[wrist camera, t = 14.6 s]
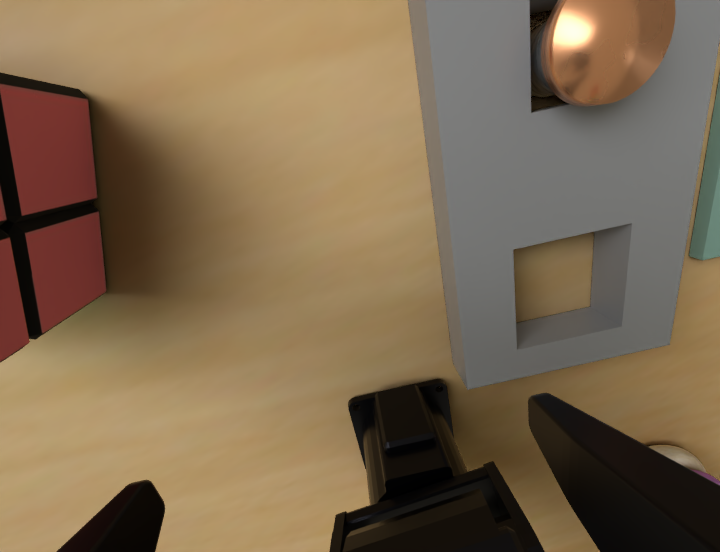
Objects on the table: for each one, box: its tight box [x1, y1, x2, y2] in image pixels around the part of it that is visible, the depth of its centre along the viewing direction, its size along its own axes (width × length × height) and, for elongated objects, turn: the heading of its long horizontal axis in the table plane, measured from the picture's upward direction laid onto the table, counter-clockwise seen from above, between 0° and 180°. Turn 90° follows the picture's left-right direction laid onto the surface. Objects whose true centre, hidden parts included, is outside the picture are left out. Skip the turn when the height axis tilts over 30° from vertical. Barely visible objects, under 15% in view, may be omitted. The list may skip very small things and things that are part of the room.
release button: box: [530, 0, 676, 107], centre depth 14 cm, size 4×4×4 cm
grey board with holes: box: [408, 0, 720, 390], centre depth 17 cm, size 20×12×2 cm, turn 12°
